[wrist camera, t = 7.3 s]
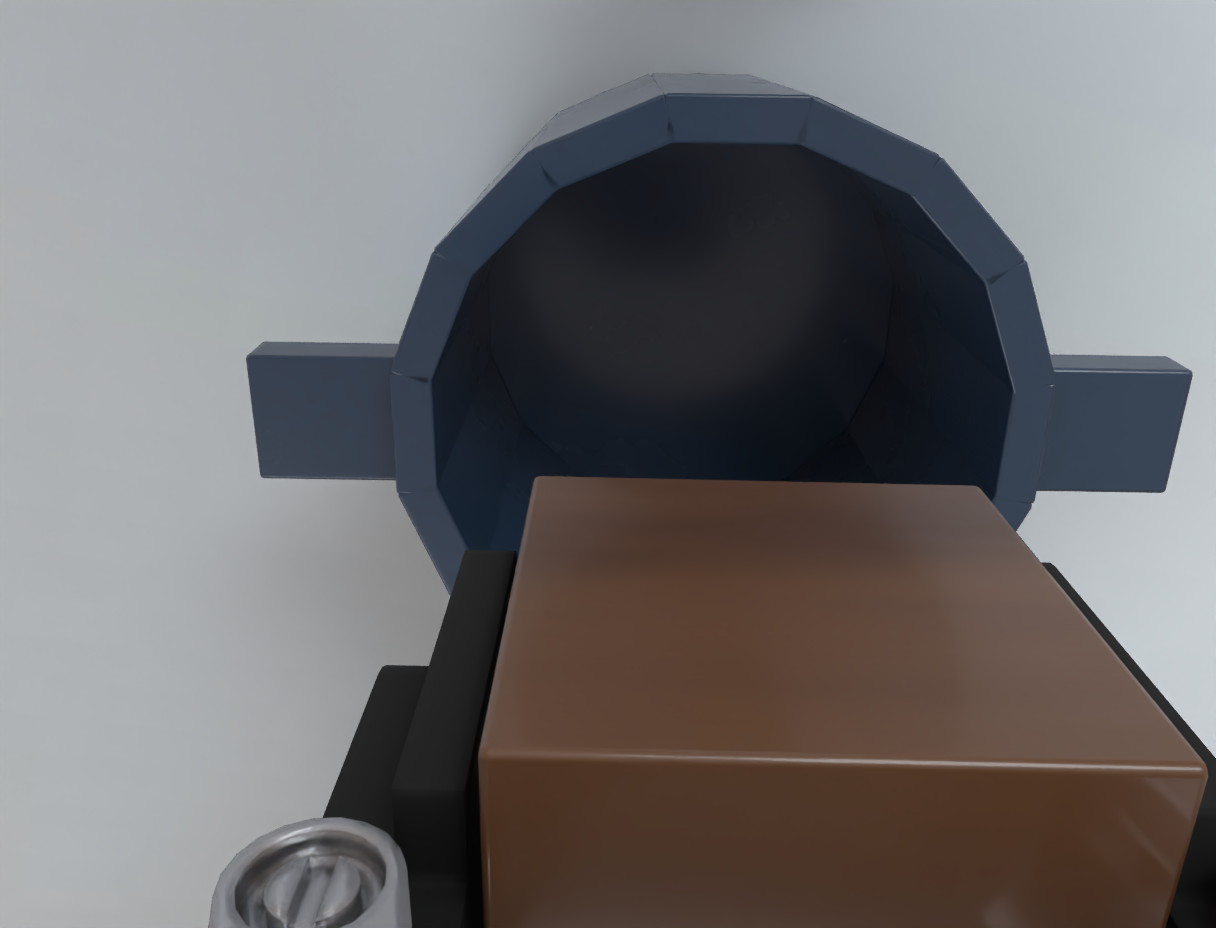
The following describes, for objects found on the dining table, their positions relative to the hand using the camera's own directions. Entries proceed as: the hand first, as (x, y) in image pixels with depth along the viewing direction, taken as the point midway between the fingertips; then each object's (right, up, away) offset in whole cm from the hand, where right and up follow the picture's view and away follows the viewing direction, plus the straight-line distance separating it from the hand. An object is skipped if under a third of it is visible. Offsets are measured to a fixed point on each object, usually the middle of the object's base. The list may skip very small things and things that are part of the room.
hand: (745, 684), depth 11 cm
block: (0, 0, 0) cm, 0 cm away
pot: (+1, +6, +15) cm, 17 cm away
